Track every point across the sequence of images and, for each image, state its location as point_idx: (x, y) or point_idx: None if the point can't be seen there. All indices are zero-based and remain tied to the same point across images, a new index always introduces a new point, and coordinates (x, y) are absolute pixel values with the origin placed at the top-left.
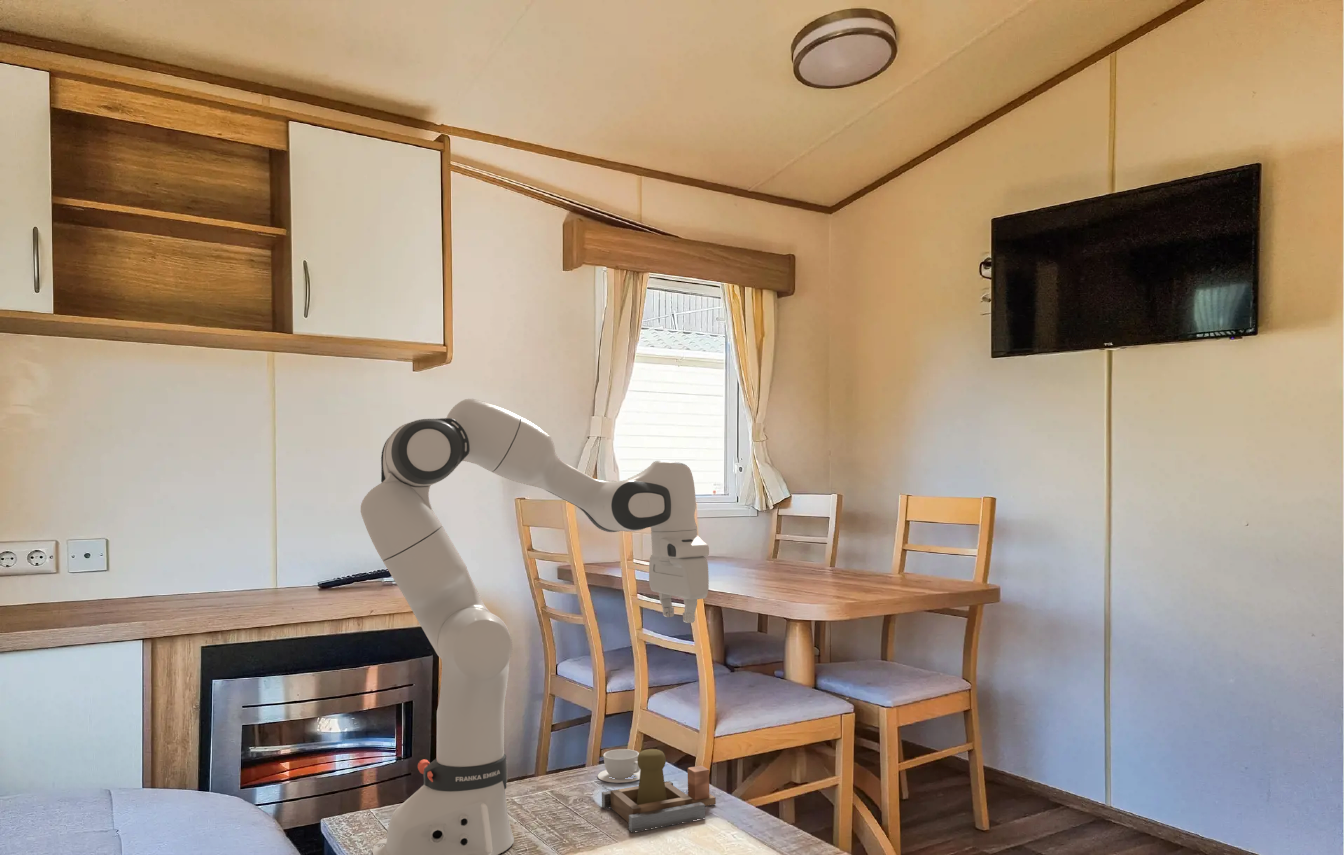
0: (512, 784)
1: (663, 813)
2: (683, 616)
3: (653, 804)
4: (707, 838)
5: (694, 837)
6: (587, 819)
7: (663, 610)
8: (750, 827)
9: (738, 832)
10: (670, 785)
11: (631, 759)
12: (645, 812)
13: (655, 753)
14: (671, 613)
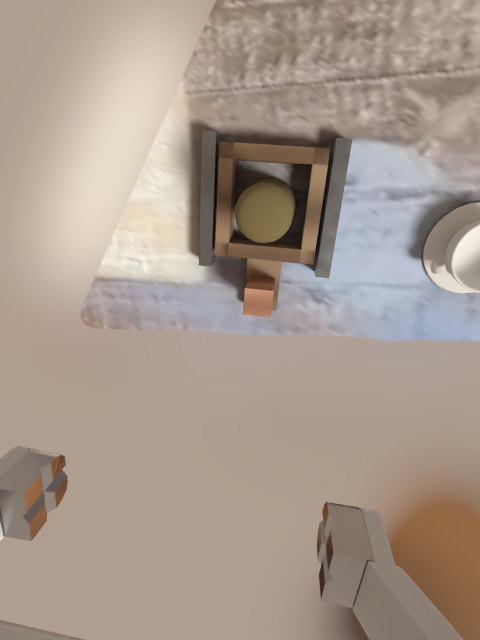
0: None
1: (200, 191)
2: (26, 472)
3: (222, 185)
4: (141, 225)
5: (151, 211)
6: (304, 86)
7: (372, 540)
8: (150, 294)
9: (142, 272)
10: (290, 258)
11: (450, 261)
12: (213, 163)
13: (244, 215)
14: (320, 545)
